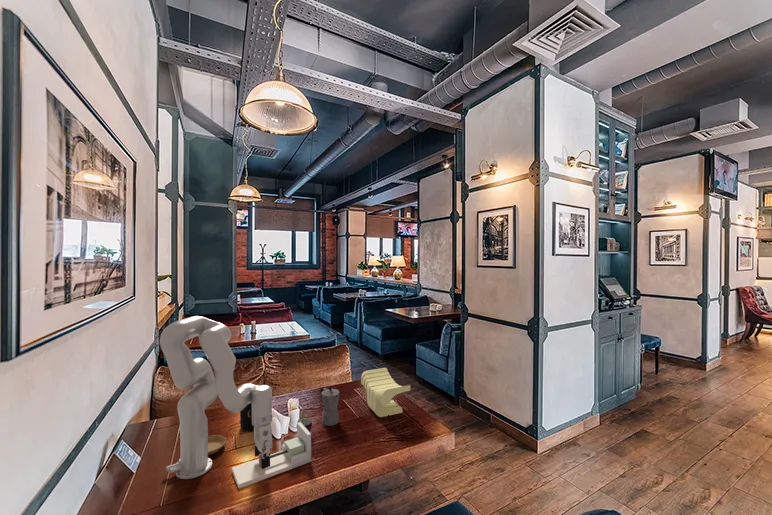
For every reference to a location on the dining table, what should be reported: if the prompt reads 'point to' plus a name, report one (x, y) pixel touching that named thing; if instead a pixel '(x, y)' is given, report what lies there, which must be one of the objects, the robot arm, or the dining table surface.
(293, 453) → the cord block
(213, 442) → the plant saucer
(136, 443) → the dining table surface
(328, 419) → the coffeepot
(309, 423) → the mate gourd
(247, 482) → the shelf lane
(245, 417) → the coffee jar
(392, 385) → the slatted curved stool
